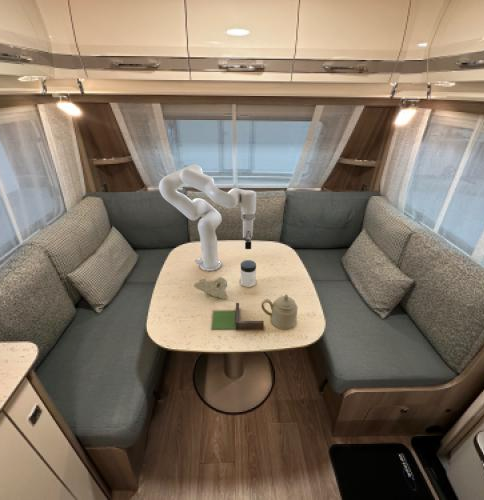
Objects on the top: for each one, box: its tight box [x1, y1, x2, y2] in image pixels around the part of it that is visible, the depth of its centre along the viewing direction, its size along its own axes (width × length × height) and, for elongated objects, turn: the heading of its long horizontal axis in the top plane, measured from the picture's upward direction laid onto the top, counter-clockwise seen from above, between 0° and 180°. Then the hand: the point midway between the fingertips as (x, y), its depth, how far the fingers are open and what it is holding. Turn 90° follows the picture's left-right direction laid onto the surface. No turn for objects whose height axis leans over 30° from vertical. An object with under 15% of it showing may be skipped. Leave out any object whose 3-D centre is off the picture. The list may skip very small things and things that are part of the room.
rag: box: [211, 310, 236, 330], centre depth 121 cm, size 10×11×1 cm
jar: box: [240, 259, 257, 288], centre depth 142 cm, size 9×8×12 cm
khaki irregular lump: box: [193, 276, 228, 300], centre depth 136 cm, size 15×7×15 cm
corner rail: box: [235, 302, 265, 331], centre depth 121 cm, size 12×13×4 cm
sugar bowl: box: [260, 294, 299, 330], centre depth 117 cm, size 15×11×15 cm
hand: (247, 244), depth 145 cm, fingers open, 8 cm apart
